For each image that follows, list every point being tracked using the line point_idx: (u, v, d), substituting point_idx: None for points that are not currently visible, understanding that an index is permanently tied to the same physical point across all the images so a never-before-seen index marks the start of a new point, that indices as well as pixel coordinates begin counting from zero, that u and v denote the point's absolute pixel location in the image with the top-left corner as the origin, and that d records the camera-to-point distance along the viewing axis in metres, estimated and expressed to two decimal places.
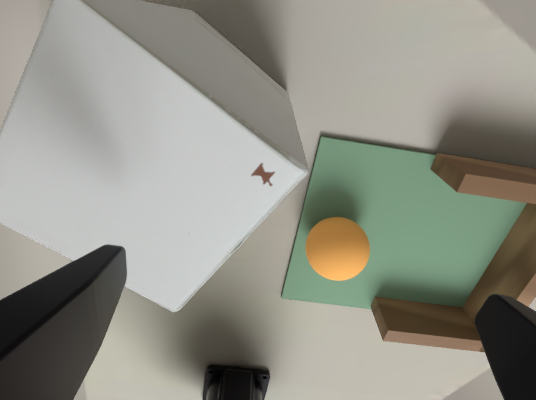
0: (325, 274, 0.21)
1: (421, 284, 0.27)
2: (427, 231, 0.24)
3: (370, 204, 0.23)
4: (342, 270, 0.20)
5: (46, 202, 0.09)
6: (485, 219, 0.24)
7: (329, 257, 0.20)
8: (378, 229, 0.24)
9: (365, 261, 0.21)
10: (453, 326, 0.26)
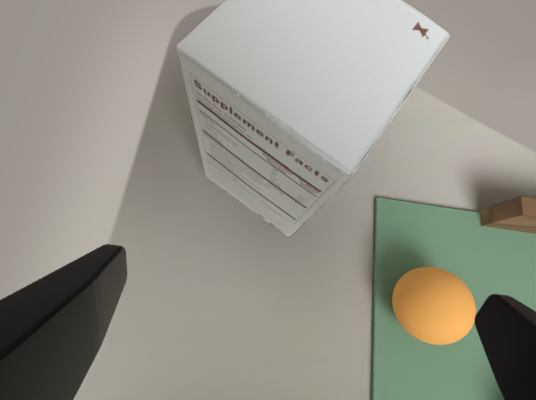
0: (436, 323, 0.17)
1: None
2: None
3: (441, 266, 0.22)
4: (456, 307, 0.17)
5: (249, 41, 0.11)
6: None
7: (434, 293, 0.17)
8: None
9: (474, 302, 0.18)
10: None
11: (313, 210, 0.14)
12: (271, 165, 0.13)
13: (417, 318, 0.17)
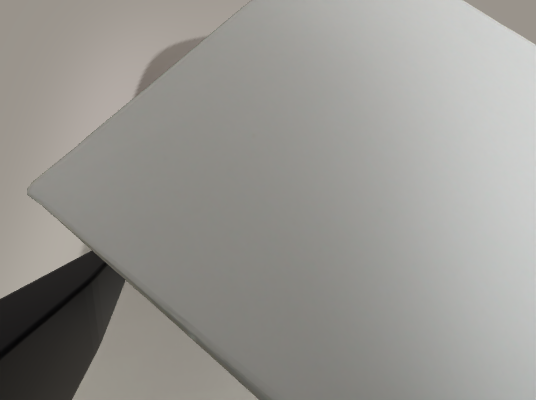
0: None
1: None
2: None
3: None
4: None
5: (231, 174, 0.04)
6: None
7: None
8: None
9: None
10: None
11: None
12: None
13: None
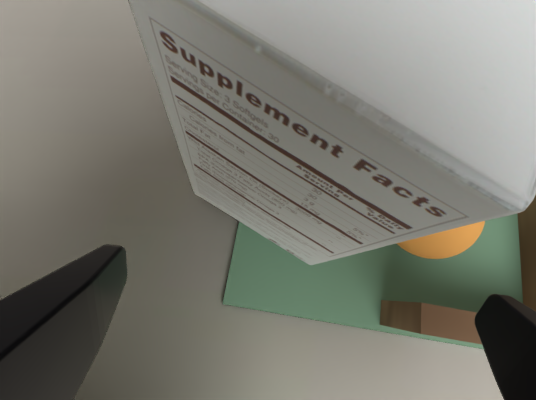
0: None
1: (444, 274, 0.17)
2: None
3: None
4: None
5: None
6: None
7: None
8: None
9: None
10: None
11: (375, 247, 0.09)
12: (312, 184, 0.07)
13: None
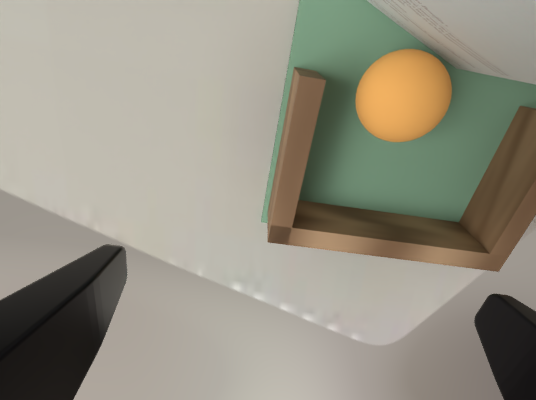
0: None
1: (333, 136, 0.19)
2: None
3: None
4: None
5: None
6: (428, 186, 0.21)
7: None
8: None
9: None
10: None
11: None
12: None
13: None
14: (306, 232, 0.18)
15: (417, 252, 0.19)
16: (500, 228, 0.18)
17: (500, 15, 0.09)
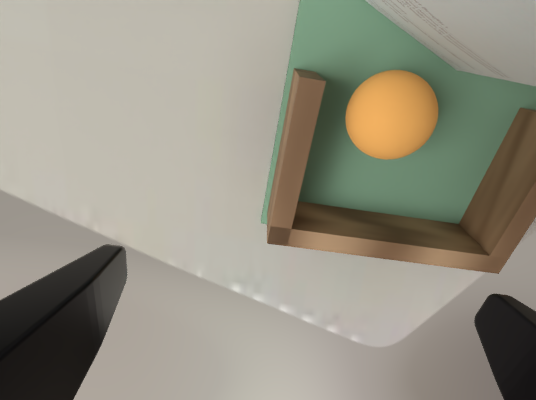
0: None
1: (333, 137, 0.19)
2: None
3: None
4: None
5: None
6: (428, 187, 0.21)
7: None
8: None
9: None
10: None
11: None
12: None
13: None
14: (305, 233, 0.18)
15: (416, 254, 0.19)
16: (500, 230, 0.18)
17: (500, 16, 0.09)
